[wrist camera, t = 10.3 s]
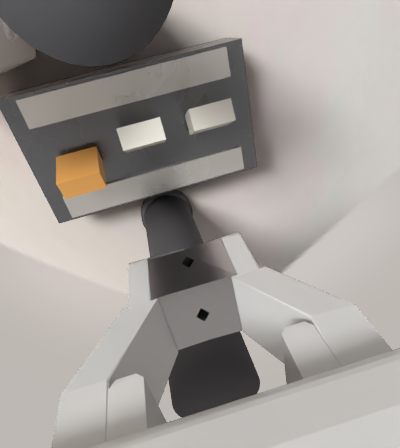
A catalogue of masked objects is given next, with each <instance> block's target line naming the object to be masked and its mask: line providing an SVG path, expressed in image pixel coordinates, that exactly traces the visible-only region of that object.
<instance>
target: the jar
mask: <svg viewBox="0 0 400 448" xmlns="http://www.w3.org/2000/svg"><path fill="white" fill-rule="evenodd" d="M35 57H36V49H35V48H34V47H32V46H31V45H29V44H28V43H26V42H25V41H24V40H23V39H22V38H20V37H19V36H18V35H17V34H16V33H14V32H13V31H12V30H11V29H10V28H9V27H8V26H7V24H6V23H5V22H4V21H3V20H2V19H1V18H0V74H1V73H3V72H5V71H8V70H10V69H12V68H15V67H17V66H19V65H22V64H24V63H26V62H28V61H31V60H33V59H35Z"/></svg>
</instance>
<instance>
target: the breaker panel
mask: <svg viewBox="0 0 400 448" xmlns="http://www.w3.org/2000/svg"><path fill="white" fill-rule="evenodd" d="M229 98H231V101H232V106H233V110H234V114H235V118H236V120H235V121H233V122H232V123H230V124H228V125H225V126H222V127H218V128H214V129H211V130H207V131H204V132H200V133H196V134H193V135H190V133H189V130H188V126H187V122H186V119H185V114H186V113H187V111H188V109H191V108H195V107H199V106H202V105H206V104H210V103H214V102H217V101H221V100H225V99H229ZM0 110H1V111H2V113H3V115H4V117H5V119H6V121H7V123H8V125H9V127H10V129H11V131H12V133H13V135H14V137H15V139H16V141H17V142H18V144H19V146H20V148H21V150H22V152H23V154H24V156H25V158H26V160H27V162H28V164H29V166H30V168H31V170H32V172H33V173H34V175H35V177H36V179H37V181H38V183H39V185H40V187H41V189H42V191H43V193H44V195H45V197H46V199H47V201H48V203H49V204H50V206H51V208H52V210H53V212H54V214H55V216H56V218H57V220H58V222H59V223H63V222H66V221H69V220H73V219H76V218H80V217H83V216H87V215H90V214H94V213H97V212H101V211H104V210H108V209H111V208H115V207H118V206H122V205H125V204H129V203H132V202H136V201H139V200H143V199H146V198H150V197H153V196H157V195H160V194H164V193H167V192H170V191H174V190H177V189H181V188H184V187H188V186H191V185H195V184H198V183H202V182H205V181H209V180H212V179H216V178H219V177H223V176H226V175H230V174H233V173H237V172H240V171H244V170H247V169H251V168H254V167H257V161H256V153H255V145H254V137H253V129H252V120H251V112H250V104H249V96H248V88H247V80H246V71H245V63H244V55H243V47H242V39H241V38H224V39H220V40H216V41H212V42H208V43H204V44H200V45H196V46H192V47H189V48H185V49H181V50H177V51H173V52H169V53H165V54H161V55H157V56H153V57H149V58H145V59H141V60H137V61H133V62H129V63H125V64H122V65H118V66H114V67H110V68H106V69H102V70H98V71H94V72H90V73H86V74H82V75H78V76H74V77H70V78H66V79H62V80H58V81H54V82H51V83H47V84H43V85H39V86H35V87H31V88H27V89H23V90H19V91H15V92H11V93H9V94H8V95H6V96H4V97H2V98H0ZM158 117H160V119H161V123H162V126H163V130H164V133H165V137H166V141H165V142H164V143H160V144H156V145H153V146H149V147H145V148H142V149H138V150H134V151H131V152H124V151H123V149H122V145H121V142H120V139H119V136H118V133H117V130H116V129H117V128H121V127H124V126H128V125H132V124H135V123H139V122H143V121H147V120H150V119H154V118H158ZM95 146H96V147H97V149H98V151H99V154H100V156H101V158H102V160H103V164H104V171H105V178H106V185H107V188H104V189H100V190H97V191H93V192H90V193H86V194H82V195H79V196H75V197H72V198H68V199H65V197H64V196H63V194H62V193H61V191H60V190H59V188H58V187H57V185H56V157H58V156H62V155H66V154H69V153H73V152H77V151H80V150H84V149H88V148H91V147H95Z"/></svg>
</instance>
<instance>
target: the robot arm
mask: <svg viewBox="0 0 400 448" xmlns="http://www.w3.org/2000/svg"><path fill="white" fill-rule="evenodd" d="M242 330H243V332H244V333H245V334H246V335H248V336H249V337H250V338H252V339H253V340H254V341H255V342H257V343H258V344H259V345H261V346H262V347H264V348H265V349H266V350H267V351H269V352H270V353H271V354H273V355H274V356H275V357H276V358H278V359H279V360H280V361H281V362H283V363H284V364H285V372H286V382H287V384H286V385H283V386H280V387H277V388H274V389H271V390H267V391H265V392H261V393H258V394H255V395H252V396H249V397H246V398H242V399H239V400H236V401H233V402H230V403H227V404H224V405H220V406H217V407H214V408H211V409H208V410H205V411H202V412H199V413H195V414H192V415H189V416H186V417H183V418H180V419H177V420H174V421H170V422H166V420H165V418H164V416H163V414H162V412H161V410H160V408H159V406H158V405H159V402H160V399H161V397H162V394H163V392H164V389H165V386H166V384H167V381H168V378H169V376H170V373H171V370H172V368H173V365H174V363H175V360H176V357H177V355H178V350H180V349H183V348H186V347H189V346H192V345H195V344H198V343H201V342H204V341H207V340H210V339H213V338H217V337H220V336H224V335H228V334H231V333H235V332H238V331H242ZM52 448H400V348H398V349H395V350H392V349H391V348H390V346H389V345H388V344H387V343H386V342H385V340H384V339H383V338H382V337H381V336H380V334H379V333H378V332H377V331H376V330H375V329H374V327H373V326H372V325H371V324H370V322H369V321H368V320H367V319H366V318H365V316H364V315H363V314H362V313H361V312H360V310H359V309H358V308H357V307H356V306H355V304H352V303H350V302H348V301H345V300H343V299H340V298H338V297H336V296H333V295H331V294H329V293H326V292H324V291H322V290H319V289H317V288H315V287H312V286H310V285H308V284H305V283H303V282H300V281H298V280H296V279H294V278H291V277H289V276H286V275H284V274H282V273H279V272H277V271H275V270H272V269H270V268H268V267H262V268H260V267H259V266H258V264H257V262H256V260H255V259H254V257H253V255H252V253H251V252H250V250H249V248H248V246H247V245H246V243H245V241H244V239H243V238H242V236H241V234H240V233H239V232H235V233H232V234H229V235H226V236H223V237H220V238H218V239H215V240H212V241H208V242H205V243H202V244H198V245H195V246H192V247H189V248H185V249H180V250H176V251H172V252H169V253H165V254H161V255H158V256H154V257H150V258H148V259H143V260H139V261H136V262H133V263H129V265H128V307H127V308H125V309H122V310H121V312H120V313H119V315H118V316H117V317H116V319H115V320H114V322H113V323H112V324H111V326H110V327H109V328H108V330H107V331H106V333H105V334H104V336H103V337H102V338H101V340H100V341H99V343H98V344H97V345H96V347H95V348H94V350H93V351H92V352H91V354H90V355H89V356H88V358H87V359H86V360H85V362H84V363H83V365H82V366H81V367H80V369H79V370H78V372H77V373H76V374H75V376H74V377H73V378H72V380H71V381H70V383H69V384H68V385H67V387H66V388H65V390H64V391H63V392H62V394H61V396H60V402H59V408H58V413H57V419H56V425H55V430H54V436H53V442H52Z"/></svg>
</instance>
